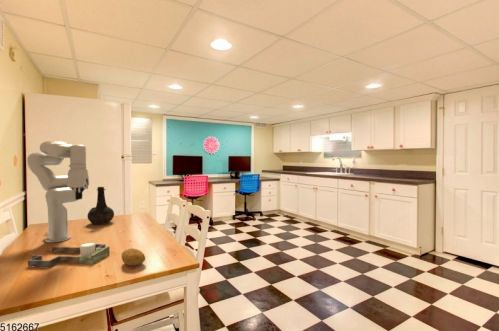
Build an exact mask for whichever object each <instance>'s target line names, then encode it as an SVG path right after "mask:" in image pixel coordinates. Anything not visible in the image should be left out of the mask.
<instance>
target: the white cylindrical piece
mask: <svg viewBox="0 0 499 331" xmlns="http://www.w3.org/2000/svg"><path fill="white" fill-rule="evenodd" d="M96 244H97V243H96V242H85V243H82V244H80V245H79V247H80V253H79V254H80V256H82V257H91V255H92V254H94V253H96V250H95V245H96Z"/></svg>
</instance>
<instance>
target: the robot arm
mask: <svg viewBox="0 0 499 331" xmlns="http://www.w3.org/2000/svg"><path fill="white" fill-rule="evenodd" d="M39 150H40V151H39V152H34V153H33V152H32V153H30V154H29V155H28V156H27V158H26V162H27V165H28V168H29V170H30V171H31V172H32V173H33V174H34V175H35V176H36V178H37V180H38V182H40V185H41V188H43V189H44V190H45V191H46V193H45V196H44V197H45V201H46V206H47V207H46V208H47V220H48V222H47V223H48V226H47V228H48V229H47V230H48V231H46V232H45V233H44V234H43V237H46V238H45V242H46V243H60V242H64V241H68V240H70V239H71V238H72V235H70V234H69V233H68V232H69V231H68V230H69V229H68V208H66V206H65V205H64V204H65V203H66V204H67V203H73V202H77V201H79V200H82V199H83V193H84V191H85V190H88V189H89V185H90V179H89V178H90V177H89V171H88V169H87V151H86V150H87V148H86V146H85V145H83V144H67V142H64V141H53V140H52V141H51V140H50V141H42V142H41V143H40V145H39ZM64 159H69V164H68V168H69V169H68V171H67V175H55V173H54V172H53V171H52V169H50V168H49V167H47V166H58V165H61V164H62V162H63V161H64Z"/></svg>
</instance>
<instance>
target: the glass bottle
mask: <svg viewBox="0 0 499 331" xmlns="http://www.w3.org/2000/svg"><path fill="white" fill-rule="evenodd" d="M106 189H107V188H106ZM106 189H105V187H104V186H98V187H97V189H96V191H97V199H96V201H97V202H96V206H95V207H92V208H91V209H89V211H88V213H87V220H88V221H89V222H90V223H91V224H93V225H97V226H99V225H106V224H109V223H110V222H111V221H112V220H113V219H114V217H115V211H114V210H113V209H112V208H111V207H109V206H108V205H107V200H106V197H105V190H106Z"/></svg>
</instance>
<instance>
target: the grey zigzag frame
mask: <svg viewBox="0 0 499 331" xmlns="http://www.w3.org/2000/svg"><path fill="white" fill-rule="evenodd" d="M51 253H55V254H58V253H59V254H81V253H80V246H79V247H78V246H51ZM110 254H111V253H110V246H108V245H107V246H106V244H105V243H96V245H95V253H94V254H92V255H91V257H82V256H81V255H80V256H79V255H78V256H77V255H75V256H74V255H58V256H56V257H53V258H51V259H49V260H46V259H45V260H44V259H43V255H42V254H31V255H30V259H28V260H27V267H28V266H34V267H33V268H46V267H48V268H49V267H50V268H52V267H53V266H55V265H58V264H60V263H64V264H89V265H91V264H93V265H94V264H95V263H97V262H98V261H101V260H102V259H104V258H105V257H108V256H109V255H110ZM50 268H49V269H50Z"/></svg>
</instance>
